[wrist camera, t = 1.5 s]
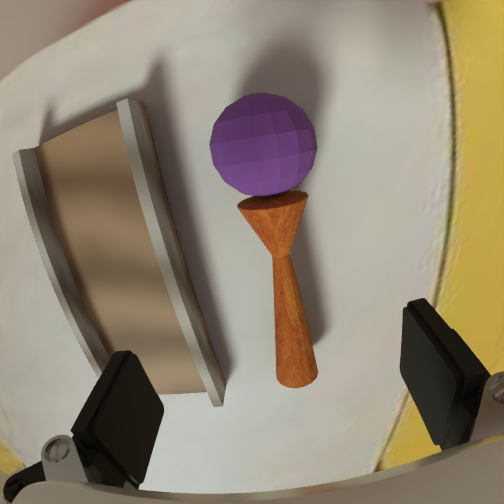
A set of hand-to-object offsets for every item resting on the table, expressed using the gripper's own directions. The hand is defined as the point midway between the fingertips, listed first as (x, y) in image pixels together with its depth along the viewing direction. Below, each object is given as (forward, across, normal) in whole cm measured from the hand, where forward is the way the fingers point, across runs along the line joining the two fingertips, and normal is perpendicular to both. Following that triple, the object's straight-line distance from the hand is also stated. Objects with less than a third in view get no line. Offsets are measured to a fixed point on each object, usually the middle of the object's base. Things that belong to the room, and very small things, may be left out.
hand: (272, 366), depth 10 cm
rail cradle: (+13, +11, 0) cm, 17 cm away
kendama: (+13, -1, +1) cm, 13 cm away
